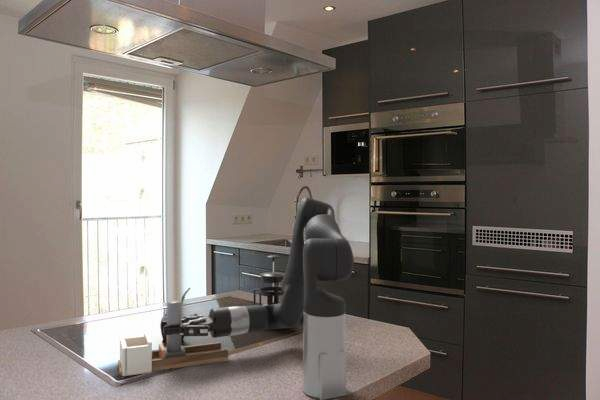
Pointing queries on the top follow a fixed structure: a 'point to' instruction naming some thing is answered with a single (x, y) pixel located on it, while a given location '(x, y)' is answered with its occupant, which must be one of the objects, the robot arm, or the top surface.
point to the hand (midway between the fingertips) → (162, 328)
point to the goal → (136, 355)
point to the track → (188, 357)
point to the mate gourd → (166, 320)
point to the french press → (270, 278)
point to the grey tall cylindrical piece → (173, 340)
